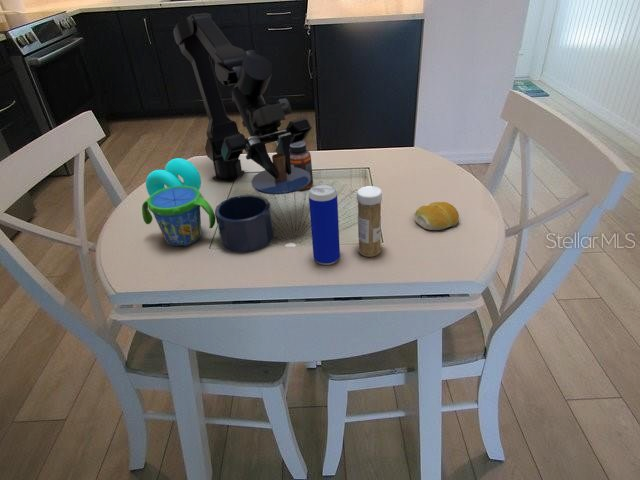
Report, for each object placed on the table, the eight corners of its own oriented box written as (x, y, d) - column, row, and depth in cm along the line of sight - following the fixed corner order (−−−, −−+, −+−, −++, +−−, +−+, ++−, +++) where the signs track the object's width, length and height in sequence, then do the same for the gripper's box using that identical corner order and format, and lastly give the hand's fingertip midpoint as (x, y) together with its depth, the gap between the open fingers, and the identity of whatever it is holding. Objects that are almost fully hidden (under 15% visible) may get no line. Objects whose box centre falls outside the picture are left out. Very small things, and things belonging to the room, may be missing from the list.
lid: (245, 197, 91) (240, 168, 88) (259, 171, 101) (256, 144, 98) (306, 197, 89) (303, 168, 86) (314, 171, 99) (312, 144, 96)
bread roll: (465, 223, 98) (467, 206, 95) (431, 235, 94) (433, 218, 92) (440, 207, 104) (441, 191, 102) (407, 218, 101) (408, 202, 99)
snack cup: (227, 229, 101) (219, 188, 96) (203, 256, 93) (193, 212, 88) (167, 222, 106) (156, 182, 100) (139, 246, 97) (125, 204, 92)
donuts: (149, 208, 112) (138, 170, 107) (174, 190, 120) (165, 154, 114) (183, 213, 109) (173, 175, 103) (206, 195, 116) (199, 158, 111)
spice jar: (384, 255, 89) (385, 194, 82) (361, 259, 89) (361, 197, 81) (376, 243, 93) (377, 183, 86) (355, 247, 93) (353, 187, 85)
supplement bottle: (314, 180, 120) (311, 139, 114) (312, 191, 115) (308, 148, 109) (292, 181, 120) (287, 139, 114) (288, 191, 115) (283, 148, 109)
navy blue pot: (211, 247, 96) (204, 216, 92) (238, 221, 104) (233, 192, 100) (258, 256, 92) (252, 224, 88) (282, 228, 100) (279, 198, 96)
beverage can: (343, 253, 91) (340, 184, 83) (335, 267, 87) (331, 197, 79) (318, 249, 93) (313, 182, 84) (310, 264, 89) (303, 194, 80)
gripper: (215, 96, 84) (249, 171, 82) (303, 77, 91) (336, 146, 89) (208, 126, 94) (238, 194, 92) (288, 107, 102) (317, 170, 99)
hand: (283, 175), depth 93 cm, fingers closed on lid, 3 cm apart
